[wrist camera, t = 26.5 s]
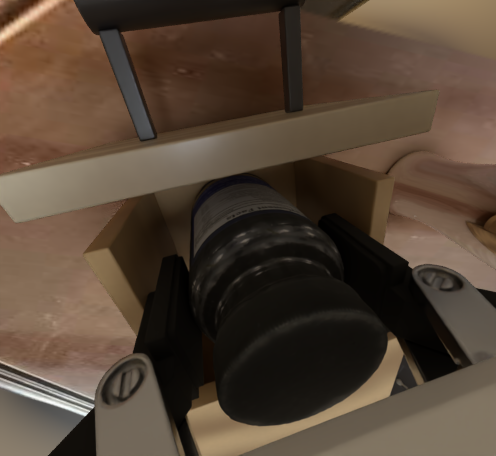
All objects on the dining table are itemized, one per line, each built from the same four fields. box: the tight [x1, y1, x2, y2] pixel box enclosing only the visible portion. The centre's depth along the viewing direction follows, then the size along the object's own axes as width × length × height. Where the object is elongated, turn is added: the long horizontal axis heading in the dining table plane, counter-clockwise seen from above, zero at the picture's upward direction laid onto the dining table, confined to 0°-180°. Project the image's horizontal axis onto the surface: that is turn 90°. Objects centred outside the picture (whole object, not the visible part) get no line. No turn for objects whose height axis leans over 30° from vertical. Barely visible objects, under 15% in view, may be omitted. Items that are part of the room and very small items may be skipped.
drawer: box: [0, 0, 439, 384], centre depth 12 cm, size 19×13×9 cm, turn 10°
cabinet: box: [187, 332, 404, 456], centre depth 19 cm, size 16×14×11 cm
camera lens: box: [188, 173, 388, 427], centre depth 10 cm, size 6×6×11 cm
